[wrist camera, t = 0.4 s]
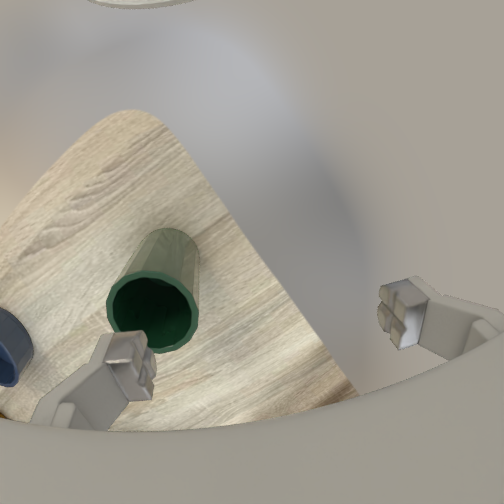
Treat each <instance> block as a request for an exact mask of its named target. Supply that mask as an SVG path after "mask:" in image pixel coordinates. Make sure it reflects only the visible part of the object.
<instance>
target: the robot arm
mask: <svg viewBox="0 0 504 504" xmlns="http://www.w3.org/2000/svg"><path fill="white" fill-rule="evenodd" d="M379 297H380V298H381V300H382V301H381V303H380V304H379V306H378V311H377V312H378V313H377V316H378V321H379V324H380V326H381V328H382V329H383V331H384V332H387V333H390V340H391V341H392V343H393V344H394V345H395V346H396V348H397V349H398V350H401V349H404V348H407V347H410V346H413V345H416V344H418V345H420V346H422V347H423V348H425V349H428V350H429V351H431V352H433V353H435V354H437V355H439V356H441V357H443V358H445V359H447V360H449V361H448V362H446V363H443V364H441V365H439V366H437V367H435V368H432V369H430V370H428V371H426V372H423V373H421V374H418V375H416V376H414V377H411V378H409V379H406V380H403V381H401V382H398V383H396V384H393V385H390V386H387V387H385V388H382V389H379V390H376V391H373V392H370V393H367V394H364V395H361V396H358V397H354V398H351V399H348V400H344V401H341V402H337V403H334V404H330V405H327V406H323V407H319V408H315V409H311V410H307V411H303V412H299V413H294V414H290V415H285V416H280V417H275V418H270V419H264V420H259V421H253V422H247V423H240V424H233V425H226V426H218V427H209V428H199V429H187V430H172V431H145V432H121V431H107V430H108V429H109V427H110V426H111V425H112V424H113V422H114V421H115V420H116V419H117V417H118V416H119V415H120V414H121V412H122V411H123V410H124V409H125V407H126V406H127V405H128V404H129V402H131V401H145V400H152V396H153V390H154V384H153V382H152V379H153V378H154V377H155V376H156V371H157V366H156V359H155V355H154V353H153V351H152V349H150V348H149V347H148V346H147V341H148V339H147V337H146V334H145V332H144V331H142V330H136V331H126V332H116V333H105V334H102V335H101V336H100V338H99V341H98V343H97V345H96V347H95V350H94V352H93V354H92V356H91V359H90V361H89V363H88V364H84V365H83V366H81V367H80V368H79V369H78V370H76V371H75V372H74V373H72V374H71V375H70V376H69V377H67V378H66V379H65V380H64V381H62V382H61V383H60V384H59V385H57V386H56V387H55V388H54V389H52V390H51V391H50V392H49V393H47V394H46V395H45V396H44V397H42V398H41V399H40V400H39V402H38V404H37V406H36V409H35V411H34V413H33V415H32V418H31V420H30V422H29V423H25V422H19V421H14V420H9V419H4V418H0V504H504V314H503V313H501V312H500V311H499V310H498V309H495V308H491V307H488V306H484V305H480V304H477V303H473V302H469V301H466V300H462V299H459V298H455V297H452V296H448V295H443V296H442V295H441V294H440V293H438V292H437V291H436V290H435V289H434V288H432V287H431V286H430V285H429V284H428V283H426V282H425V281H424V280H423V279H421V278H420V277H419V276H413V277H409V278H407V279H404V280H400V281H397V282H393V283H389V284H386V285H382V286H381V287H380V290H379Z"/></svg>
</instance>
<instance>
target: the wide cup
mask: <svg viewBox="0 0 504 504" xmlns="http://www.w3.org/2000/svg"><path fill="white" fill-rule="evenodd" d="M32 358H33V346H32V342H31V339H30V337H29V335H28V333H27V331H26V330H25V328H24V327H23V325H22V324H21V323H20V322H19V321H18V319H17V318H16V317H14V316H13V315H12V314H11V313H9V312H8V311H6V310H4V309H2V308H0V385H1V386H4V387H14V386H15V385H16V384H17V383H18V382H19V380H20V378H21V377H22V375H23V374H24V372H25V370H26V369H27V367H28V366H29V364H30V362H31V360H32Z"/></svg>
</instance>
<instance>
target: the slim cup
mask: <svg viewBox="0 0 504 504" xmlns="http://www.w3.org/2000/svg"><path fill="white" fill-rule="evenodd" d="M199 273H200V257H199V252H198V249H197V246H196V245H195V243H194V241H193V240H192V239H191V238H190V237H189V236H188V235H187V234H185V233H183V232H182V231H179V230H176V229H172V228H163V229H158V230H155V231H153V232H151V233H150V234H149V235H147V236H146V237H145V238H144V239H143V240H142V241H141V243H140V244H139V246H138V247H137V249H136V250H135V252H134V253H133V255H132V256H131V258H130V259H129V261H128V262H127V264H126V265H125V267H124V268H123V270H122V272H121V273H120V275H119V276H118V278H117V279H116V281H115V283H114V284H113V286H112V287H111V290H110V292H109V295H108V298H107V300H106V309H107V318H108V321H109V323H110V324H111V326H112V328H113V330H114V332H115V333H116V332H126V331H136V330H142V331H144V332H145V334H146V337H147V339H148V341H147V346H148V347H149V348H150V349H152V351H153V353H158V354H162V353H166V352H170V351H175V350H177V349H179V348H180V347H182V346H183V345H185V344H186V343H187V342H189V341H190V340H191V338H192V336H193V335H194V333H195V331H196V329H197V327H198V317H199Z"/></svg>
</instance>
